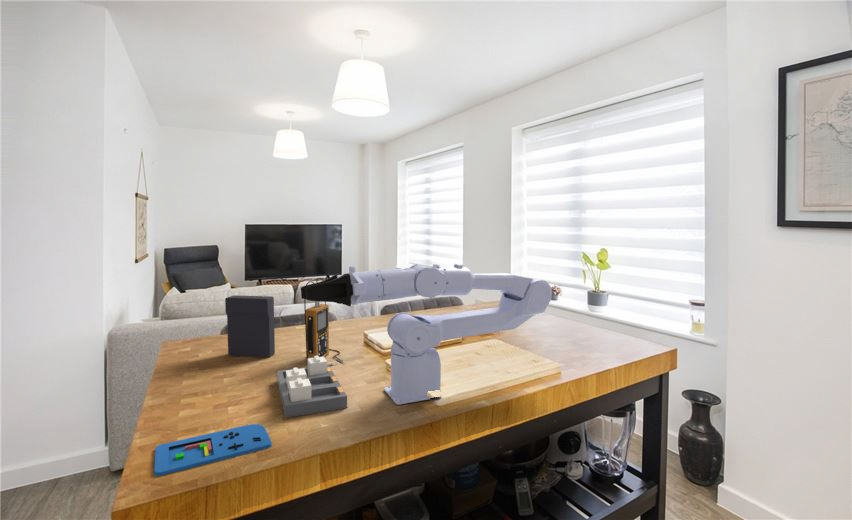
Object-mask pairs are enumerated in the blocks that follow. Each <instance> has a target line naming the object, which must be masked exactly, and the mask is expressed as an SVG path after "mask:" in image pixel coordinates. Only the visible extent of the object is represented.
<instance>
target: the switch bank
mask: <svg viewBox="0 0 852 520" xmlns="http://www.w3.org/2000/svg"><path fill="white" fill-rule="evenodd" d="M297 368H298V369H303V368H304V369H305V372H306V374H307V379H309V381H310V384H311V399H310V400H304V401H297V402H291V403H290V399H289V390H287V387H286V371H287V370H293V368H291V369H290V368H289V369H284V370H283V369H282V370H277V371H276V381H278V382H277V385H278V386H279V387H278V391H279V390H280V391H279V396H280V395H281V396H280V400H281V399H282V401H281V405H282V404H283V405H282V409H284V410H283V415H284V414H285V415H284V418H285V419H288V418H293V417H292V416H294V417H299V415H300V416H306V415H311V414H316V413H323V412H330V411H335V410H336V411H337V410H341V409H346V408H347V409H348V395H347V394H346V392H345V390H344V389H343V387H342V385H341V383H340V382H339V380H338V378H337V377H336V375H335V374H334V372H333V370H332V368H331V367H330V366H329V365H327V373H325V374H318V375H310V376H308V366H307V367H297Z"/></svg>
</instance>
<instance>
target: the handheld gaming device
mask: <svg viewBox="0 0 852 520" xmlns="http://www.w3.org/2000/svg"><path fill="white" fill-rule="evenodd" d="M272 446H273V443H272V441H271V438H270V436H269V433H268V432H267V429H266V427H265V426H264V425H261V424H257V423H255V424H254V423H253V424H252V423H251V424H246V425H242V426H238V427H236V426H235V427H232V428H228V429H225V430H219V431H215V432H210V433H206V434H205V433H204V434H203V435H197V436H192V437H189V438H184V439H179V440H175V441H170V442H166V443H161V444H159V445H158V444H157V446H156V447H155V450H154V451H155V452H154V466H153V467H154V468H153V474H154V475H153V476H155V477H161V476H165V475H168V474H169V475H170V474H172V473H176V472H181V471H185V470H189V469H192V468H197V467H200V466H204V465H208V464H212V463H215V462H219V461H223V460H226V459H231V458H235V457H239V456H243V455H246V454H250V453H253V452H258V451H262V450H267V449H270V448H271V447H272Z"/></svg>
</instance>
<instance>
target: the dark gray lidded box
mask: <svg viewBox="0 0 852 520" xmlns="http://www.w3.org/2000/svg"><path fill="white" fill-rule="evenodd" d="M274 301H275V299H274V296H269V295H266V296H265V295H263V296H262V295H231V296H227V297H225V299H224V304H225V305H224V306H225V314H226V324H227V351H228V352H227V354H228V356H229V357H246V358H247V357H248V358H266V357H269V358H270V357H272V356H274V355H275V354H276V351H275V350H276V346H275V345H276V344H275V340H276V339H275V337H276V336H275V335H276V334H275V302H274Z"/></svg>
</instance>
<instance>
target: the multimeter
mask: <svg viewBox="0 0 852 520" xmlns="http://www.w3.org/2000/svg"><path fill="white" fill-rule="evenodd" d="M318 280H321V281H324V278H322V277H318V278H316V280H315V281H316V282H314V281H308V282H306V285H309V283H311V284H314V283H318V282H319V281H318ZM306 285H305V286H306ZM303 300H304V302H303V303H304V305H303V306H304V325H305V326H304V327H305V358H306V359H305V361H306V363H308V358H314V356H319V357H325V358H326V357H328V355H329V353H330V351H333V352H337V354H336V353H335V355H333V357H334V358H335V359H337V362H334V363H333V362H331V363H327V365H329V366H331V367H332V366H333V365H336V364H339V363H340V362H341V363H344V364H347V362H345V361H344V360H345V359H342V358H340V357H337V356H339V355H340V353H341V352H340V350H336V349H331V348H330V322H329V321H330V317H329V315H330V314H329V313H330V310H329V308H330V307H329V304H327V302H324V304H323V303H322V304H321V303H320V301H314V306H310V307H308V308H306V299H303ZM338 361H340V362H338Z"/></svg>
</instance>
